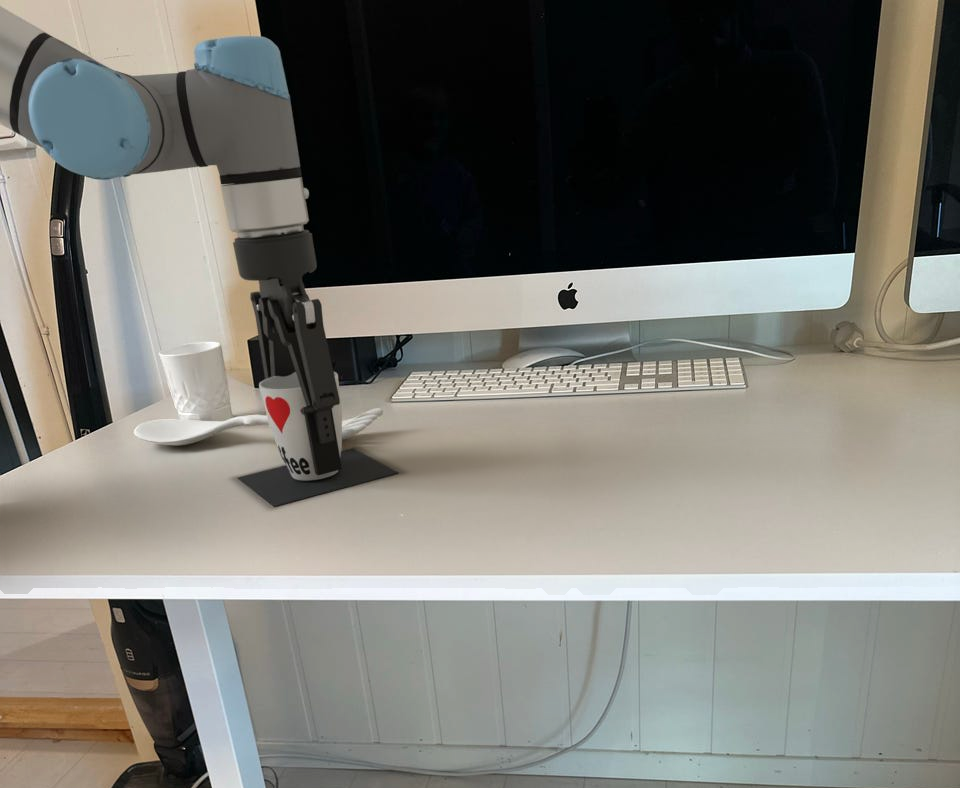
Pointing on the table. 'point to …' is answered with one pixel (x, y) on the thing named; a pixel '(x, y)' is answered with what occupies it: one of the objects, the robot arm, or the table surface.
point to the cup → (294, 424)
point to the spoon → (226, 427)
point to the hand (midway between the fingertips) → (313, 462)
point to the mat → (286, 489)
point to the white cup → (197, 381)
